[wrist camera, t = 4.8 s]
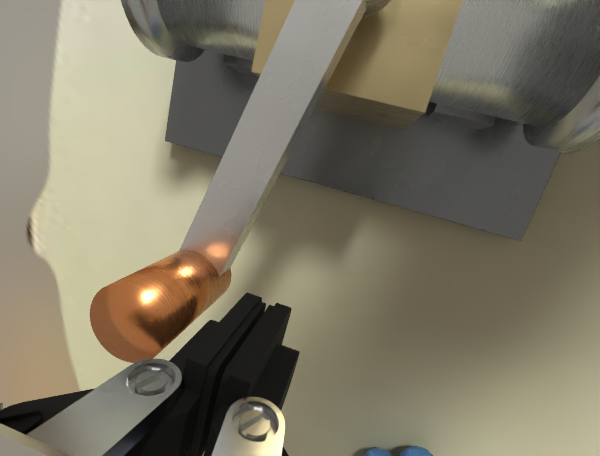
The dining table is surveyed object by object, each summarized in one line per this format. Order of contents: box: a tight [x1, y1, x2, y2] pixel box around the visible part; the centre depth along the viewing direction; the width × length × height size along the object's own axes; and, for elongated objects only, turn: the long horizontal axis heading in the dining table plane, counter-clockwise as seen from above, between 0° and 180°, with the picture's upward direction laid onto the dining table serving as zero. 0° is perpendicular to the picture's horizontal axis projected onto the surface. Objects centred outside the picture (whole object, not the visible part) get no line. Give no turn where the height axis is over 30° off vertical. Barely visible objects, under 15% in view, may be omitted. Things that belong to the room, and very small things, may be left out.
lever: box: [90, 0, 391, 363], centre depth 10 cm, size 15×3×5 cm, turn 151°
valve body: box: [121, 0, 600, 241], centre depth 16 cm, size 16×24×10 cm, turn 75°
